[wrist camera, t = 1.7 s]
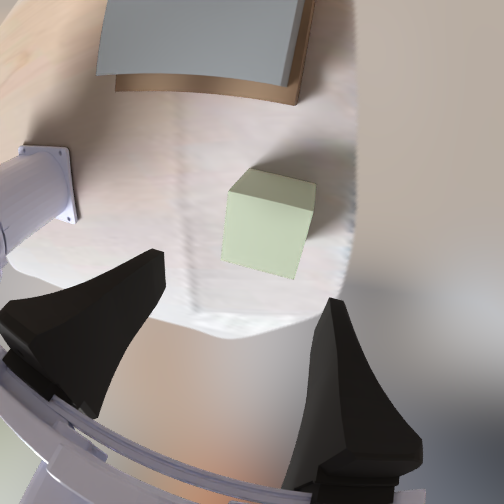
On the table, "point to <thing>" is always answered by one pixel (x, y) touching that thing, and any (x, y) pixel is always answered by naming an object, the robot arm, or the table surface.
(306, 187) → the sage cube
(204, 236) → the table surface
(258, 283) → the table surface
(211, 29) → the slate slab
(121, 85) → the walnut slab
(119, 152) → the table surface
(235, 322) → the table surface
